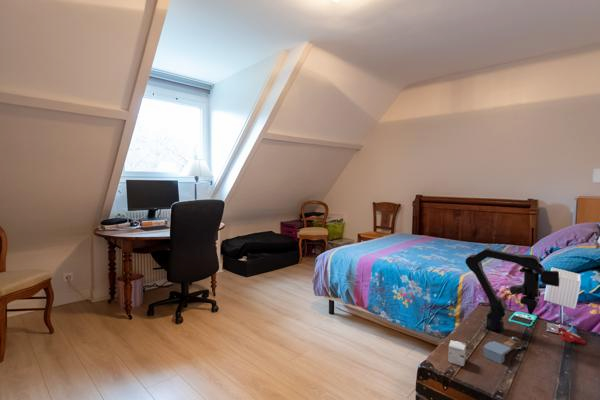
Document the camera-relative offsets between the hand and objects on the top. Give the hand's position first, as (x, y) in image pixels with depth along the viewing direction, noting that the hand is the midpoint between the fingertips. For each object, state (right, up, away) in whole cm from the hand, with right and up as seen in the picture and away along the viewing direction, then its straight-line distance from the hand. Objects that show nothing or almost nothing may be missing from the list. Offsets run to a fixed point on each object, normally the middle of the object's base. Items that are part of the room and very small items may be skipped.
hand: (530, 314), depth 150 cm
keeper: (-25, -14, -14) cm, 31 cm away
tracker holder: (+19, -12, 0) cm, 23 cm away
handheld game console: (+11, -11, +21) cm, 26 cm away
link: (-17, -12, -9) cm, 23 cm away
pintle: (-11, -13, -5) cm, 18 cm away
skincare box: (-43, -14, -16) cm, 48 cm away
